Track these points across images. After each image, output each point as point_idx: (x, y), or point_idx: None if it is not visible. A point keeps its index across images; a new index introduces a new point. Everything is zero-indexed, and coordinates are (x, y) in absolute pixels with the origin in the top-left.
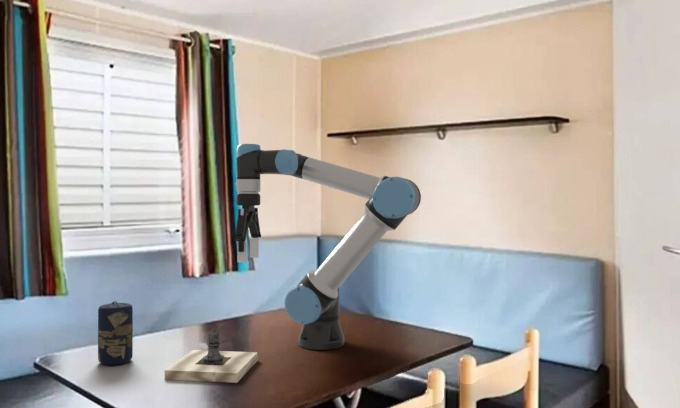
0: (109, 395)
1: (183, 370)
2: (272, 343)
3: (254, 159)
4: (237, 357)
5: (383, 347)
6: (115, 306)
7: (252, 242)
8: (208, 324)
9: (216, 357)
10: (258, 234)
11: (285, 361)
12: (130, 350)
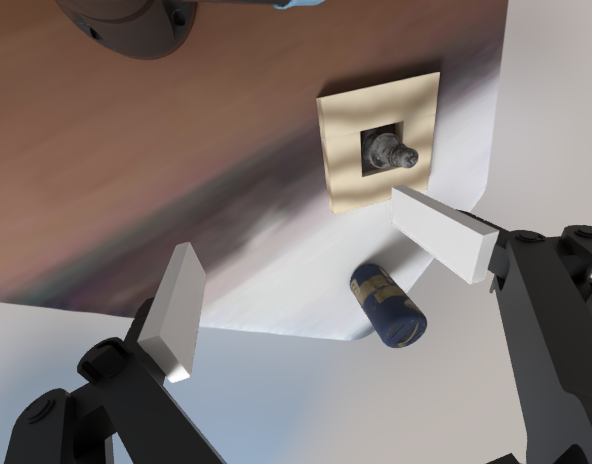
0: (467, 204)
1: (428, 164)
2: (191, 127)
3: None
4: (359, 120)
5: None
6: (418, 326)
7: (187, 332)
8: (136, 311)
9: (395, 140)
10: (110, 379)
11: (304, 32)
12: (372, 272)
